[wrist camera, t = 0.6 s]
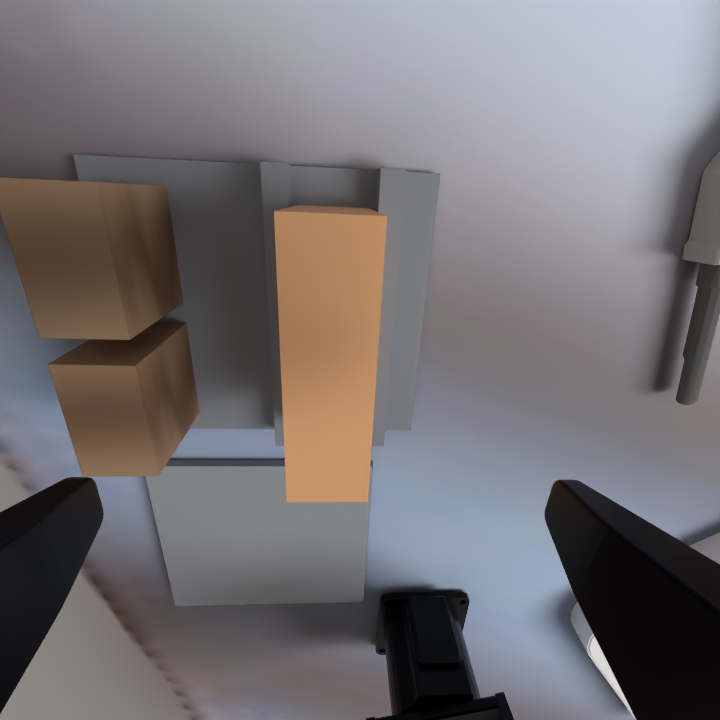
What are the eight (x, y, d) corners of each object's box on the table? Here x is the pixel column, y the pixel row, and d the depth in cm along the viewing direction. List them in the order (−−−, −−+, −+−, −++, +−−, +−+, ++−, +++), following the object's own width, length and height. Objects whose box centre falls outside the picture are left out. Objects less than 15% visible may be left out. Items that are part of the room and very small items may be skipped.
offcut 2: (199, 412, 20) (158, 476, 16) (141, 411, 20) (82, 476, 15) (186, 323, 18) (135, 366, 14) (121, 321, 18) (47, 364, 13)
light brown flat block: (358, 406, 20) (367, 502, 14) (303, 405, 20) (286, 502, 14) (368, 207, 17) (387, 216, 10) (299, 204, 16) (274, 210, 10)
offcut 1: (183, 302, 18) (129, 339, 13) (117, 300, 18) (39, 337, 13) (166, 185, 16) (96, 182, 11) (91, 182, 16) (-11, 177, 11)
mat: (362, 594, 27) (363, 602, 27) (178, 597, 27) (175, 606, 26) (372, 459, 23) (372, 466, 22) (148, 459, 22) (142, 466, 21)
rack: (409, 424, 22) (415, 445, 20) (139, 422, 21) (120, 444, 19) (437, 174, 17) (449, 171, 15) (80, 155, 16) (46, 150, 14)
